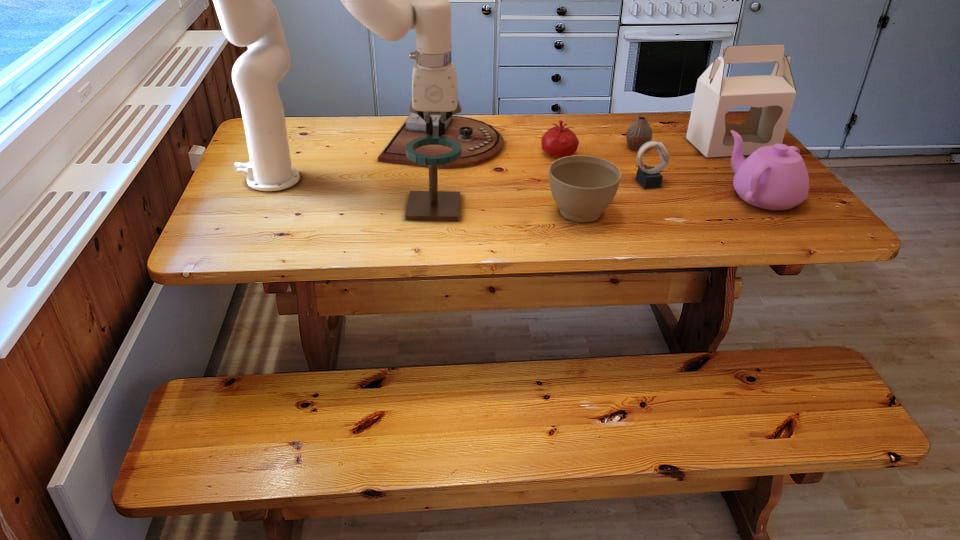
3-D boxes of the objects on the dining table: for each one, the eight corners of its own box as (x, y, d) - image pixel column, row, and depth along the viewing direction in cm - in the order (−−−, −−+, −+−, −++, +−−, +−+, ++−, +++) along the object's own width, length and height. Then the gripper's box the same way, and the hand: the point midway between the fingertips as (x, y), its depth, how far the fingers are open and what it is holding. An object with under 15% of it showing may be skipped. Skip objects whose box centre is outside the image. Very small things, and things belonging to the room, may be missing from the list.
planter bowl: (531, 208, 166) (534, 166, 160) (581, 190, 174) (585, 149, 168) (579, 238, 155) (584, 194, 149) (629, 217, 164) (636, 174, 158)
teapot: (739, 167, 187) (752, 117, 179) (820, 196, 175) (837, 144, 167) (695, 193, 174) (706, 141, 166) (779, 227, 162) (795, 172, 154)
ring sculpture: (668, 187, 177) (676, 146, 171) (637, 189, 175) (644, 148, 169) (658, 176, 181) (666, 136, 175) (629, 179, 180) (635, 138, 174)
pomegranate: (558, 165, 185) (562, 131, 180) (532, 152, 192) (535, 119, 187) (585, 155, 191) (589, 123, 185) (559, 143, 197) (562, 111, 192)
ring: (403, 165, 152) (403, 158, 152) (409, 135, 165) (409, 128, 165) (460, 165, 152) (460, 159, 152) (462, 136, 165) (462, 129, 165)
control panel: (410, 100, 207) (512, 110, 202) (411, 116, 210) (511, 127, 205) (376, 143, 182) (492, 155, 177) (378, 161, 185) (491, 174, 180)
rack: (405, 220, 160) (403, 166, 153) (409, 194, 170) (408, 143, 163) (458, 221, 160) (459, 168, 153) (460, 195, 170) (460, 145, 163)
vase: (653, 146, 197) (659, 116, 192) (644, 155, 192) (649, 124, 187) (630, 140, 200) (635, 111, 195) (620, 149, 195) (625, 119, 190)
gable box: (756, 134, 206) (781, 36, 190) (780, 153, 195) (809, 51, 179) (684, 138, 202) (704, 38, 186) (705, 158, 191) (728, 54, 176)
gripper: (396, 63, 151) (400, 143, 161) (470, 64, 151) (469, 144, 161) (399, 52, 157) (403, 130, 167) (470, 53, 157) (470, 131, 167)
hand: (435, 136), depth 164 cm, fingers closed on ring
